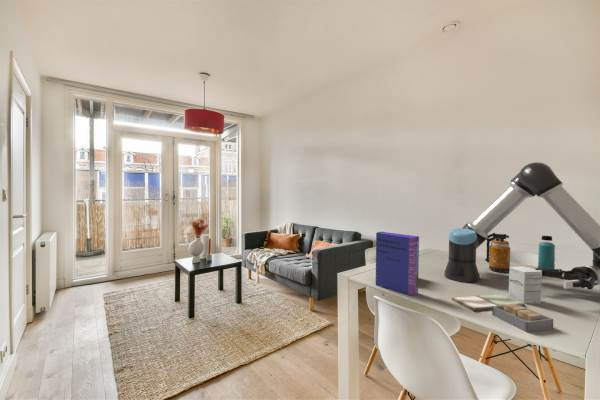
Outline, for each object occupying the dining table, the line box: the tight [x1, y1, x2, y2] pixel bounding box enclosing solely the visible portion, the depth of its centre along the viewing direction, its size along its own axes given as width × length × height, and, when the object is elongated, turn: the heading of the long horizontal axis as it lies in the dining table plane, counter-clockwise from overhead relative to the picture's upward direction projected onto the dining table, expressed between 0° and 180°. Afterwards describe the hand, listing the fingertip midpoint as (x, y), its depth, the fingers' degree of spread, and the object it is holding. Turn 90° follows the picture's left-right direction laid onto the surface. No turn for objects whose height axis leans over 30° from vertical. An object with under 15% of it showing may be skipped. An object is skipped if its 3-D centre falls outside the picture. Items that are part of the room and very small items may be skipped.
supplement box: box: [507, 266, 543, 305], centre depth 111 cm, size 7×7×13 cm
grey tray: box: [491, 304, 554, 333], centre depth 93 cm, size 12×10×4 cm
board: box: [451, 293, 526, 313], centre depth 108 cm, size 11×22×2 cm, turn 102°
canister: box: [484, 232, 511, 273], centre depth 153 cm, size 9×11×20 cm
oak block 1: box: [504, 304, 526, 317], centre depth 95 cm, size 4×4×4 cm
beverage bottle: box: [537, 235, 556, 269], centre depth 144 cm, size 6×7×20 cm
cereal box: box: [375, 231, 420, 297], centre depth 124 cm, size 17×5×24 cm, turn 42°
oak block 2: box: [518, 309, 541, 321], centre depth 91 cm, size 4×4×4 cm
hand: (545, 279), depth 113 cm, fingers open, 13 cm apart
